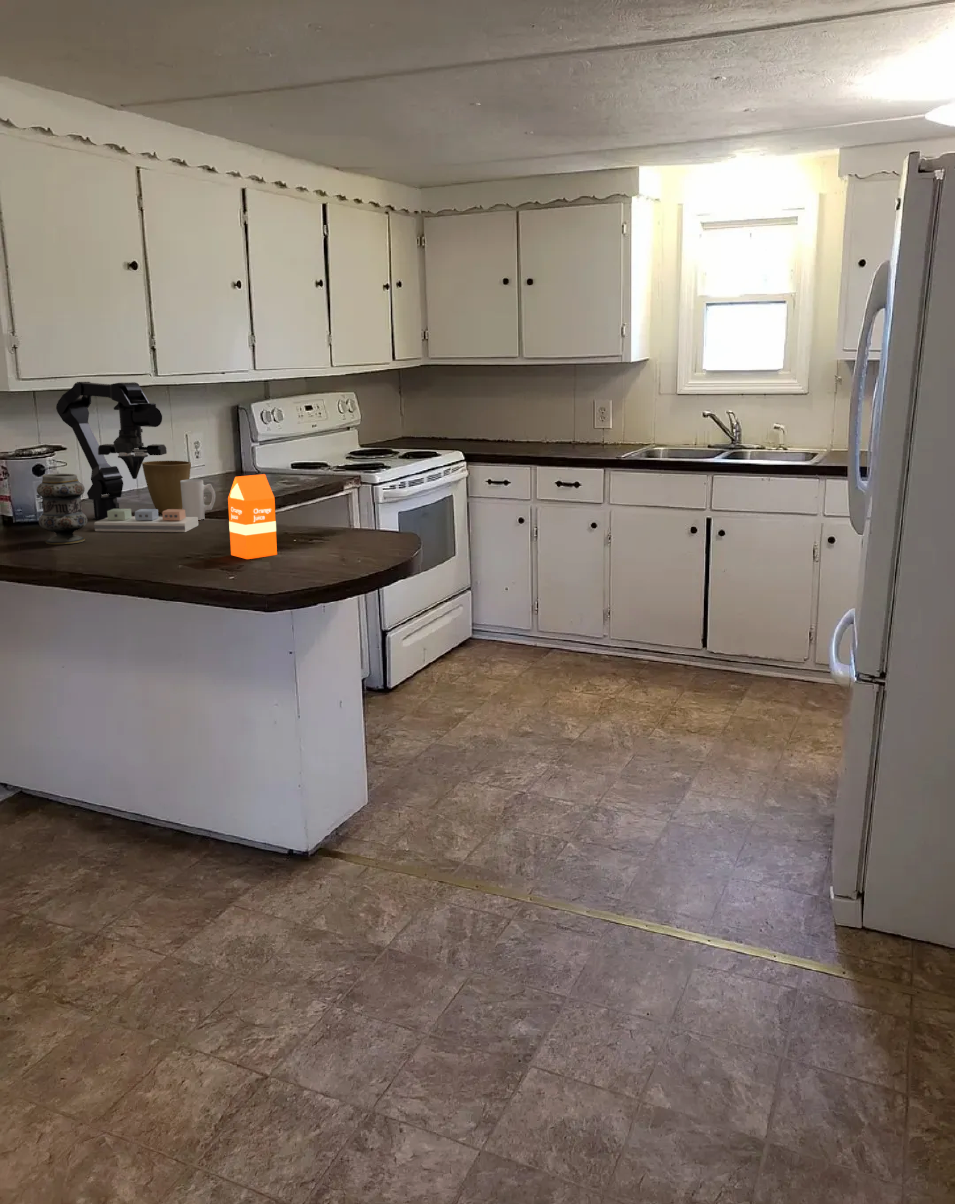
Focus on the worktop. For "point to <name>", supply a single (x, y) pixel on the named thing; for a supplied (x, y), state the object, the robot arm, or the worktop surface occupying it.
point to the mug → (195, 498)
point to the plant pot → (166, 482)
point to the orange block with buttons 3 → (173, 514)
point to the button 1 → (119, 514)
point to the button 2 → (146, 514)
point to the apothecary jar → (62, 507)
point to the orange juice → (252, 517)
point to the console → (147, 525)
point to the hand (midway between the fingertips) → (134, 478)
